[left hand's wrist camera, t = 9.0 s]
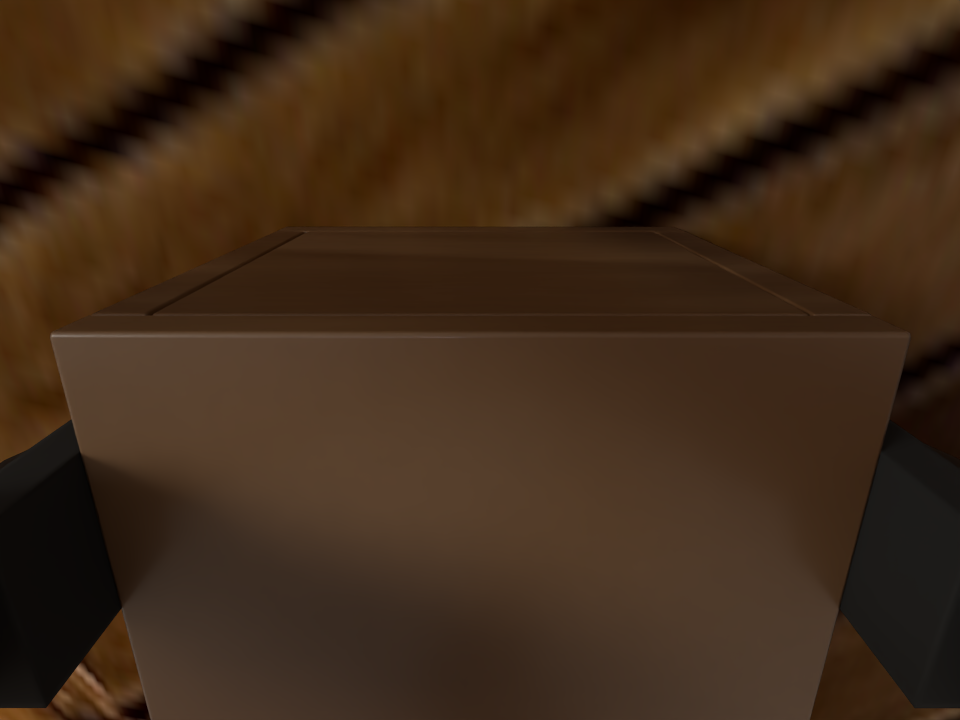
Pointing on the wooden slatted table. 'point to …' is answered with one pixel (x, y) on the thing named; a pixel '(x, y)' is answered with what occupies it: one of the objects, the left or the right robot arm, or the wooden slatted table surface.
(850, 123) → the wooden slatted table surface
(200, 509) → the tall brown box
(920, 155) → the wooden slatted table surface
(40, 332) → the wooden slatted table surface
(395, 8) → the wooden slatted table surface
